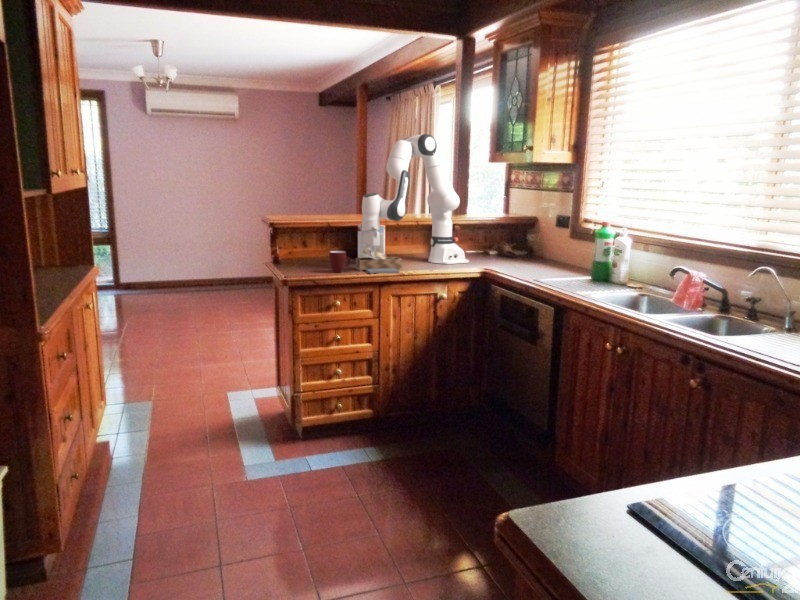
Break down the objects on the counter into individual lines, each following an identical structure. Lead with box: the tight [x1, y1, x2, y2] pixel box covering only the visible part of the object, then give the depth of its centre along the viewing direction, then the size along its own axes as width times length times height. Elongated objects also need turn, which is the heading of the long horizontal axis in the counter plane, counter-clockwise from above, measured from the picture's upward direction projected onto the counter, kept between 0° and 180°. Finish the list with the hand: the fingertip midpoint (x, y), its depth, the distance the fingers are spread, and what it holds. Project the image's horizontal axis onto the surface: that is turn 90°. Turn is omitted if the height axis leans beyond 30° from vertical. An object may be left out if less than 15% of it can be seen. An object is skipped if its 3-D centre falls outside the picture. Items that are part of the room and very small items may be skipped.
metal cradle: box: [361, 252, 380, 259], centre depth 311 cm, size 19×6×2 cm, turn 109°
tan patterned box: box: [355, 256, 403, 272], centre depth 311 cm, size 22×8×6 cm, turn 109°
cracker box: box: [357, 223, 386, 258], centre depth 326 cm, size 14×6×21 cm, turn 84°
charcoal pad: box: [365, 268, 400, 275], centre depth 303 cm, size 15×8×1 cm, turn 109°
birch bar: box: [363, 247, 387, 259], centre depth 309 cm, size 11×4×2 cm, turn 109°
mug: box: [328, 250, 351, 274], centre depth 300 cm, size 10×8×10 cm
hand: (370, 254), depth 309 cm, fingers closed on birch bar, 4 cm apart
